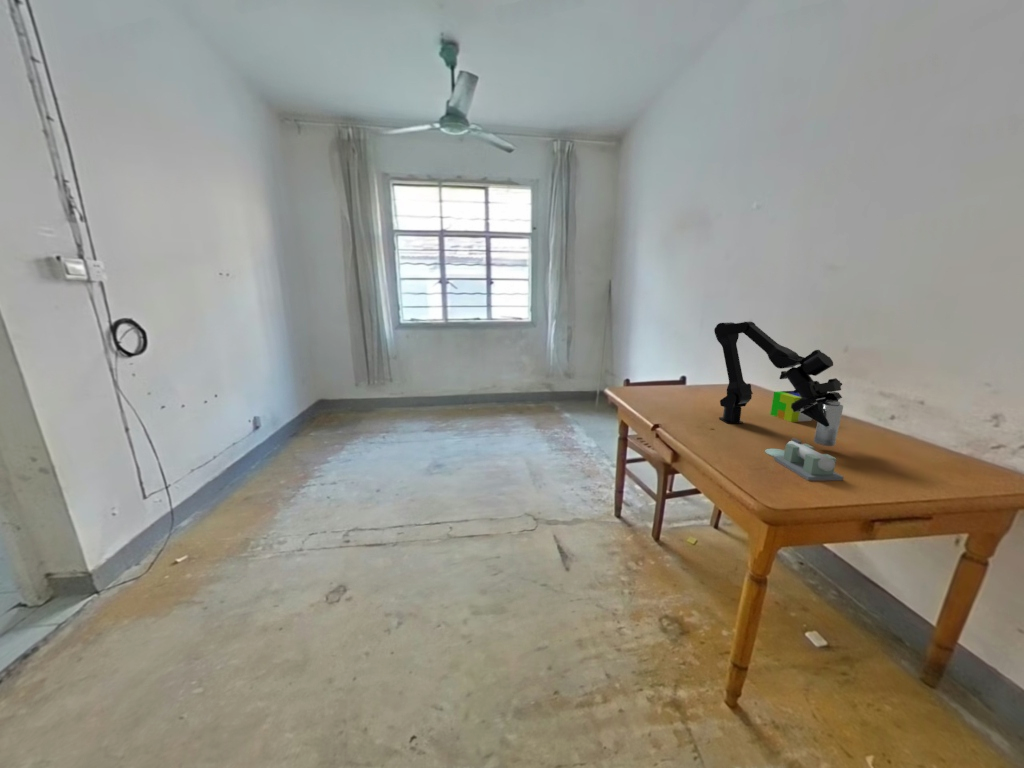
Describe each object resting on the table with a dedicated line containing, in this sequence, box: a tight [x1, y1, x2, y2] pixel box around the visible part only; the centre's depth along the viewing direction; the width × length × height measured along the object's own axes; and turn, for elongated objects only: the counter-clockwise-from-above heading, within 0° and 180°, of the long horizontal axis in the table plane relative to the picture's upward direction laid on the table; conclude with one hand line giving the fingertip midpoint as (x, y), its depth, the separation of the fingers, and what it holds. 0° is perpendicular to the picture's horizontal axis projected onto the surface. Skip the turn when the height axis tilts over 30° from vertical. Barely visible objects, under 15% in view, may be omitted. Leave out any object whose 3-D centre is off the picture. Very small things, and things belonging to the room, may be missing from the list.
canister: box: [813, 400, 844, 447], centre depth 132 cm, size 6×6×14 cm
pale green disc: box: [764, 448, 785, 458], centre depth 130 cm, size 8×8×1 cm
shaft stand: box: [773, 437, 845, 482], centre depth 118 cm, size 14×10×7 cm
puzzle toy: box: [770, 390, 813, 423], centre depth 167 cm, size 10×10×10 cm
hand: (833, 424), depth 131 cm, fingers closed on canister, 5 cm apart
